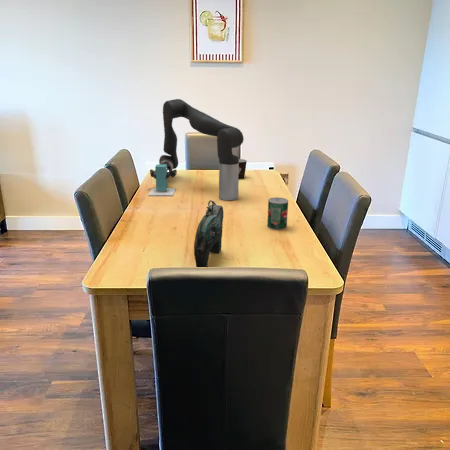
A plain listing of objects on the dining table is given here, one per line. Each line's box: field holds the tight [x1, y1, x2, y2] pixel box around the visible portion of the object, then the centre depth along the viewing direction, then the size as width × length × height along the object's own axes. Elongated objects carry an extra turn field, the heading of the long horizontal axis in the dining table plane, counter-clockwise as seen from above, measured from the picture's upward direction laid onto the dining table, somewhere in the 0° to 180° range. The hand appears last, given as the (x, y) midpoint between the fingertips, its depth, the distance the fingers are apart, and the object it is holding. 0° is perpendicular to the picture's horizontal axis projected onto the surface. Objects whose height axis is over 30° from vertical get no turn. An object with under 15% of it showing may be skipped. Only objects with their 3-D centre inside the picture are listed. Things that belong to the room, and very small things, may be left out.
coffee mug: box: [238, 158, 248, 180], centre depth 252 cm, size 12×9×10 cm
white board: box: [148, 187, 176, 197], centre depth 223 cm, size 12×12×1 cm
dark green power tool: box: [193, 199, 224, 268], centre depth 146 cm, size 20×6×20 cm, turn 163°
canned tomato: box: [266, 196, 289, 231], centre depth 177 cm, size 8×8×11 cm
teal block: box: [154, 163, 169, 191], centre depth 220 cm, size 5×5×12 cm
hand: (160, 176), depth 217 cm, fingers closed on teal block, 5 cm apart
